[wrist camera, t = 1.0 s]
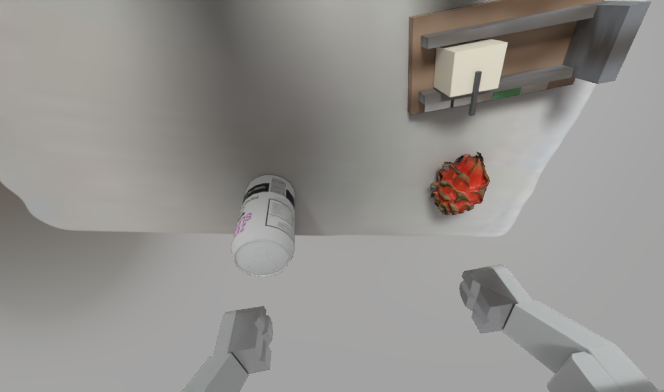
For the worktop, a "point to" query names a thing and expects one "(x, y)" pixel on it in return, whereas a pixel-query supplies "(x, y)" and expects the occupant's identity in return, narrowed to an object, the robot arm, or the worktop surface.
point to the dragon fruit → (461, 185)
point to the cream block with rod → (469, 68)
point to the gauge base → (525, 45)
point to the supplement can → (265, 227)
